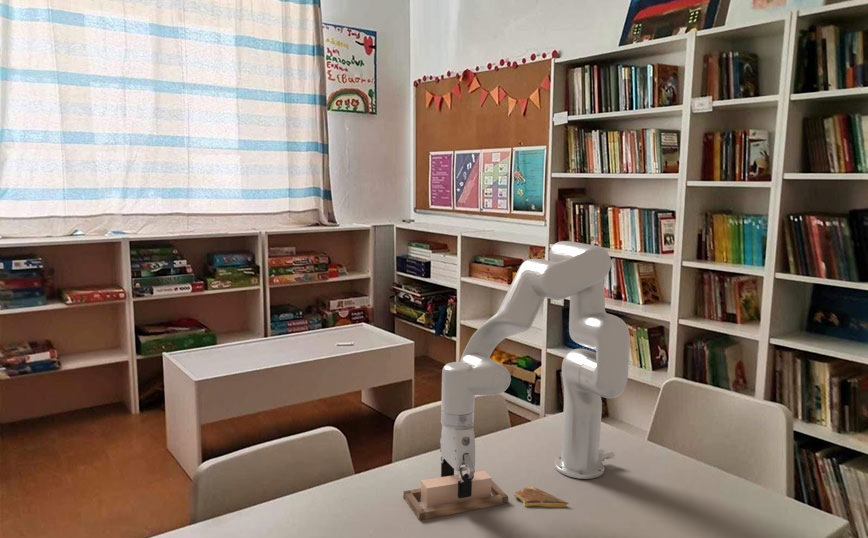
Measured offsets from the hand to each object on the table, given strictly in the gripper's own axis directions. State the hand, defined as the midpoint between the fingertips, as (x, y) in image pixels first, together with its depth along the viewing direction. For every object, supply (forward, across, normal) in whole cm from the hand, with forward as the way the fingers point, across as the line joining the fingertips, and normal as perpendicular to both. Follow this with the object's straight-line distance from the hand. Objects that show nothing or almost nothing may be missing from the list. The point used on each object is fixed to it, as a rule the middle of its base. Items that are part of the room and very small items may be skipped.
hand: (455, 487), depth 149 cm
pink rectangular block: (+4, 0, 0) cm, 4 cm away
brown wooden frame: (+3, 0, 0) cm, 3 cm away
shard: (+4, -6, -19) cm, 20 cm away
